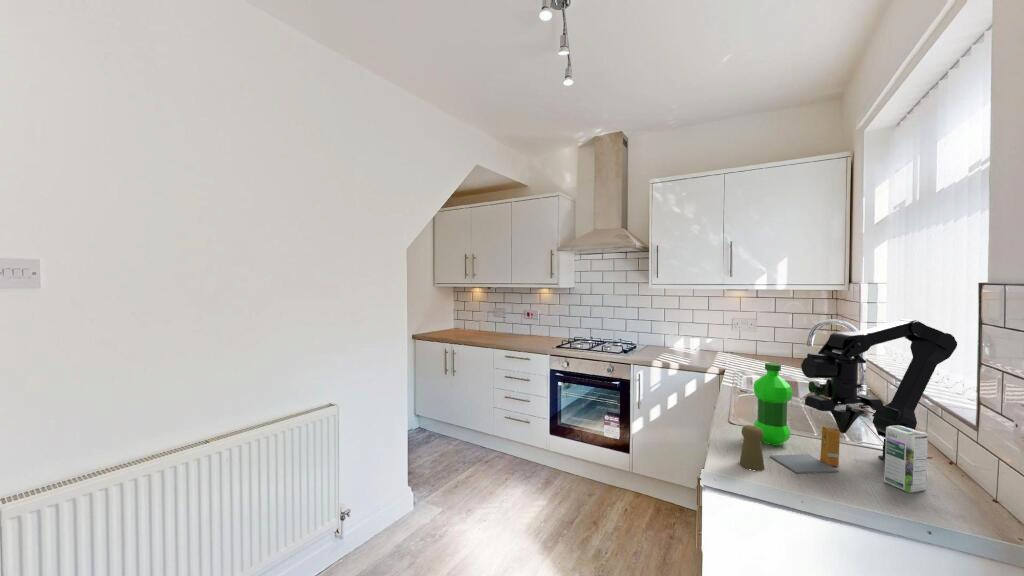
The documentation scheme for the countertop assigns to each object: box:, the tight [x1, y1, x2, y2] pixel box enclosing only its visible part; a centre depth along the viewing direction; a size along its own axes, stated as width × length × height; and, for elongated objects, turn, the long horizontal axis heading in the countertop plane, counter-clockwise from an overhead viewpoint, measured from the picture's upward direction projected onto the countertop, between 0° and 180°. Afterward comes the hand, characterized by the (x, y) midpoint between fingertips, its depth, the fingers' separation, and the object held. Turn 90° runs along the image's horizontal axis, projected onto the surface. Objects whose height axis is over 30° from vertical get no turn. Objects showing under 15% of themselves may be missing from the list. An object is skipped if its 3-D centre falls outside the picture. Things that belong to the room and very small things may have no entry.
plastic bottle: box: [752, 362, 793, 446], centre depth 127 cm, size 10×10×25 cm
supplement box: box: [819, 425, 841, 467], centre depth 113 cm, size 3×3×10 cm
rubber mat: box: [769, 453, 839, 474], centre depth 113 cm, size 12×10×1 cm
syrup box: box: [883, 425, 929, 494], centre depth 100 cm, size 6×6×14 cm
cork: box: [739, 424, 765, 472], centre depth 111 cm, size 6×6×11 cm
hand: (842, 432), depth 113 cm, fingers closed
